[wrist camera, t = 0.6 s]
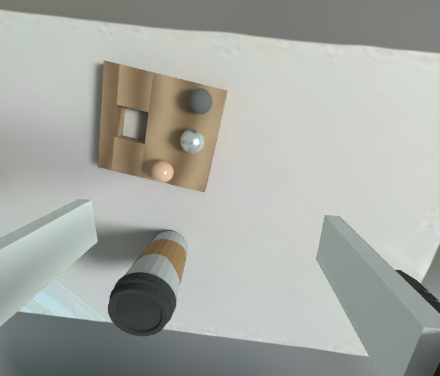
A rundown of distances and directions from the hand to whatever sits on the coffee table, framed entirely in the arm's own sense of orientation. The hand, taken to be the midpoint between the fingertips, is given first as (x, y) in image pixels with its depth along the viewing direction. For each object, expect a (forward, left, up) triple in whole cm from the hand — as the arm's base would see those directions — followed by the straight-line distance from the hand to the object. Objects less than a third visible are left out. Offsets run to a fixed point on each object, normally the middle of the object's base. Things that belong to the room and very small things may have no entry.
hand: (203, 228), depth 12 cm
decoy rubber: (-5, +7, -20) cm, 21 cm away
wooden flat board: (-10, +2, -24) cm, 26 cm away
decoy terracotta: (-8, -3, -20) cm, 21 cm away
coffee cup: (-6, -18, -24) cm, 30 cm away
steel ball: (-5, +2, -20) cm, 20 cm away
